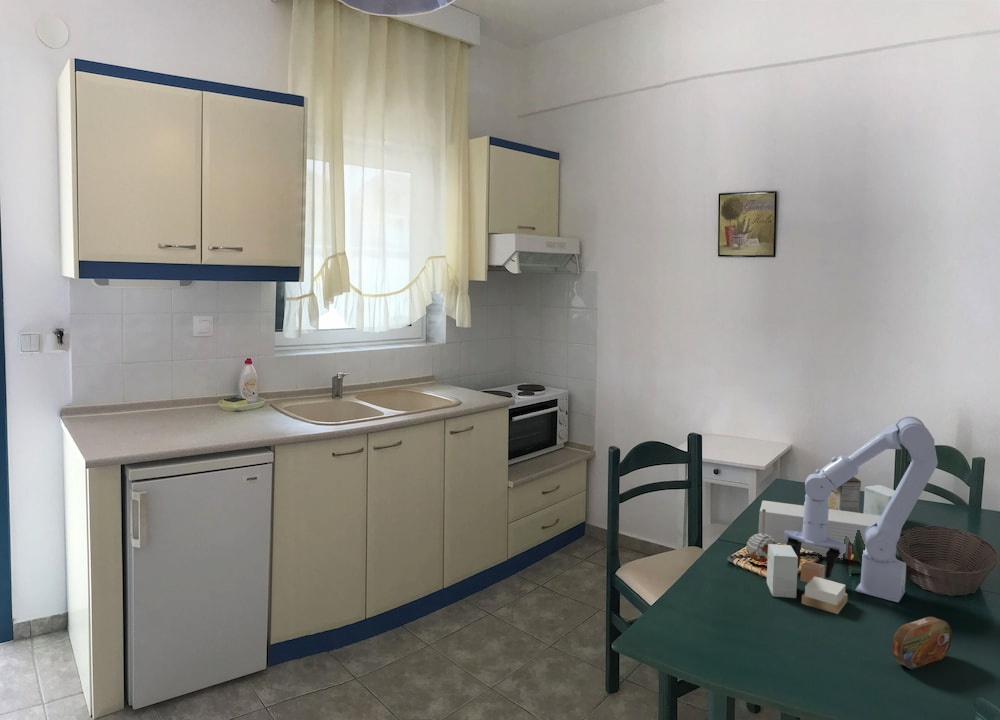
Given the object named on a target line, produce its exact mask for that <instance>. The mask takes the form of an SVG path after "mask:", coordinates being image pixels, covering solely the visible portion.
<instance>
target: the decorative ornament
mask: <svg viewBox="0 0 1000 720" xmlns="http://www.w3.org/2000/svg"><path fill="white" fill-rule="evenodd" d="M765 511H766V509H762V530H761V533H760V534H759V533H756V534H753V535H751V536H750V537H749V538H748V540H747V542H746V552H747V554H748V556H750V558H752V559H754V560H756V561H762V562H766V561H767V560H768V544H776V541H775V540H774V539H773V538H772V537H771V536H769V535H766V534H764V532H765Z"/></svg>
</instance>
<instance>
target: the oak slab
mask: <svg viewBox="0 0 1000 720" xmlns="http://www.w3.org/2000/svg"><path fill="white" fill-rule="evenodd" d="M847 602H848V593H847V592H845V595H844V597H843V598H842V599H841V600H840V602H839V603H838V604H837V605H834V604H830V603H827V602H823V601H820V600H817V599H813V598H810V597H806V596H805V592H803V594H802V595H801V604H803V605H805V606H808V607H813V608H816V609H819V610H822V611H825V612H829V613H833V614H835V615H839V614H840V612H841V610H843V608H844V606H845V605H846V604H847Z"/></svg>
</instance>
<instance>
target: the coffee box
mask: <svg viewBox="0 0 1000 720" xmlns="http://www.w3.org/2000/svg"><path fill="white" fill-rule="evenodd" d="M861 485H862V481H861V480H860V479H858V478H856V476H854V477H852V478H851V479H850V480H848V481H847V482H845V483H844V484H842V485H841V486H839V487H838V488H836V489H833V490H831V494H830V496H829V498H828V505H829V509H832V510H841V511H848V512H856V513H860V502H861V501H860V499H861Z"/></svg>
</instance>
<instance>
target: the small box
mask: <svg viewBox="0 0 1000 720" xmlns="http://www.w3.org/2000/svg"><path fill="white" fill-rule="evenodd" d="M766 567H767V568H766V571H767V572H766V584H767V587H768V589H769V592H770V593H771V595H772V597H775V598H790V599H797V594H798V593H797V592H798V591H797V589H798V569H799V568H798V557H797V555H796V553H795V552H794V550H793V548H792V547H791V545H778V544H768V560H767V566H766Z"/></svg>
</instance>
